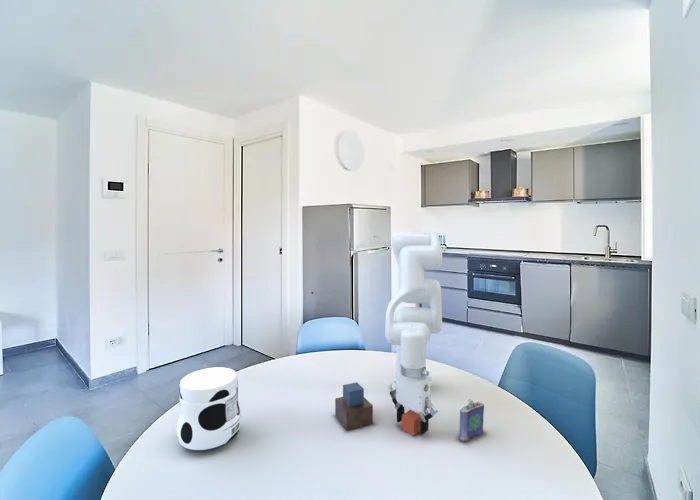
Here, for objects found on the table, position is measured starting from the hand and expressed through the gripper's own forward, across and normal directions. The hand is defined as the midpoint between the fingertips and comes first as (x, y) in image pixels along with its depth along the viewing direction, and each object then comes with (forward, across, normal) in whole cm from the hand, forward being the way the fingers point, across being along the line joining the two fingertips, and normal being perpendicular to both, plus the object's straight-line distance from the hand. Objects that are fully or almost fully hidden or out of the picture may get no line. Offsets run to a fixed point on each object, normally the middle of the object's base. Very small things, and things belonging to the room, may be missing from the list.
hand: (411, 426), depth 103 cm
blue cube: (-5, +16, +9) cm, 19 cm away
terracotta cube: (+1, 0, 0) cm, 1 cm away
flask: (+1, -14, -10) cm, 17 cm away
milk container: (+1, +39, +45) cm, 60 cm away
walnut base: (+1, +16, +9) cm, 18 cm away
